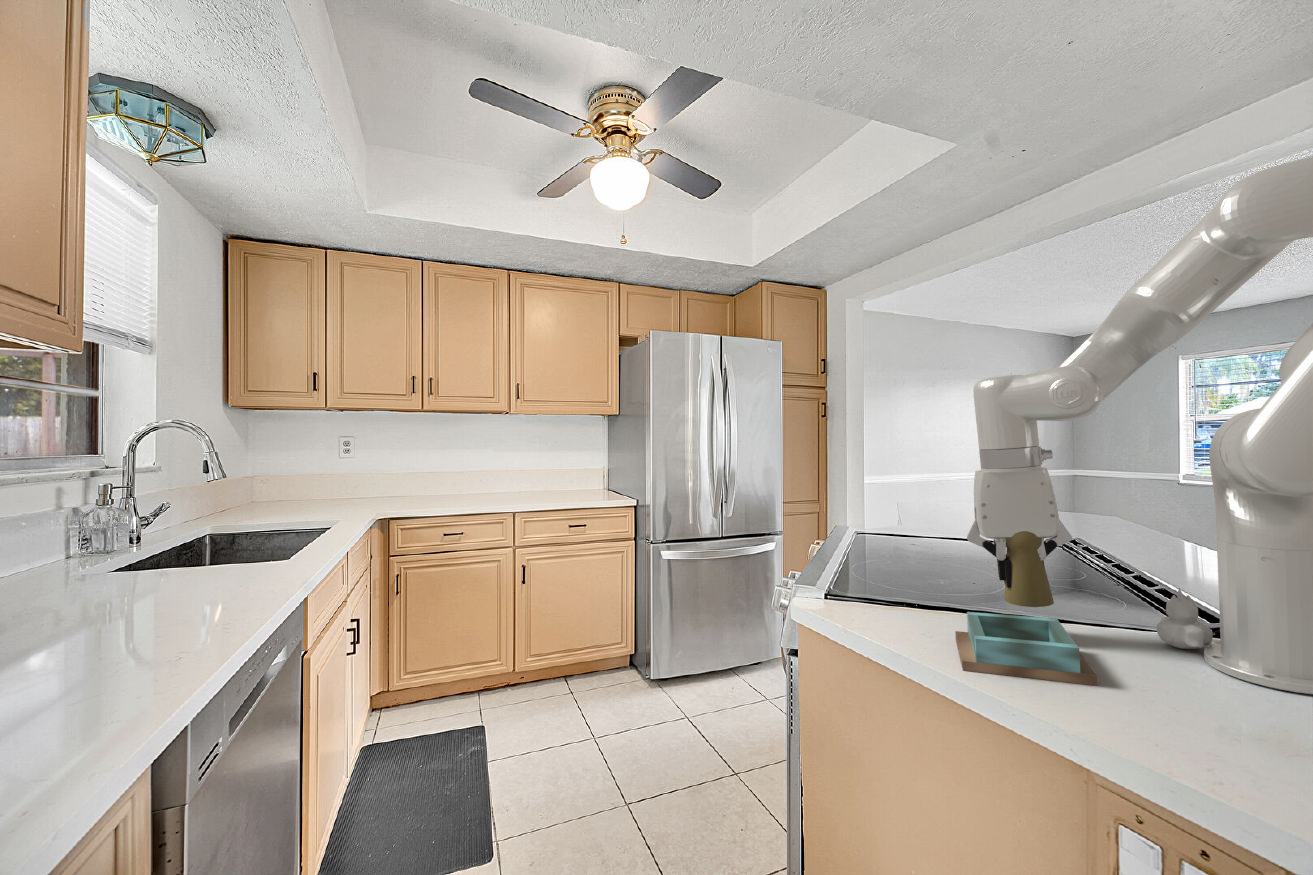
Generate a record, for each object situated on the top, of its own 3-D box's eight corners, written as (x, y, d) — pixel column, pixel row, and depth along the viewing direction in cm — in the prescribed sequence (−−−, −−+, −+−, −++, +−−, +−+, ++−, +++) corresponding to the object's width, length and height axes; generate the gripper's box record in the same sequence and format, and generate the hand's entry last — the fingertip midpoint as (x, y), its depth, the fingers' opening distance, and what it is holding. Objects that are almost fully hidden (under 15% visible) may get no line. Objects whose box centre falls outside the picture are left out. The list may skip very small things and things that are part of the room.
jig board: (1072, 650, 76) (1070, 619, 76) (1097, 685, 66) (1096, 650, 66) (955, 639, 82) (954, 610, 82) (962, 670, 72) (961, 637, 71)
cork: (1044, 594, 83) (1036, 521, 84) (1061, 606, 78) (1053, 527, 78) (998, 595, 85) (991, 523, 85) (1012, 607, 79) (1004, 529, 79)
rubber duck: (1196, 641, 77) (1194, 583, 77) (1226, 661, 70) (1224, 598, 70) (1148, 638, 79) (1145, 582, 78) (1173, 657, 72) (1170, 595, 72)
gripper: (1070, 454, 82) (1083, 580, 82) (945, 462, 89) (957, 578, 88) (1085, 457, 75) (1099, 594, 75) (949, 465, 82) (961, 591, 81)
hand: (1022, 584), depth 82 cm, fingers closed on cork, 2 cm apart
